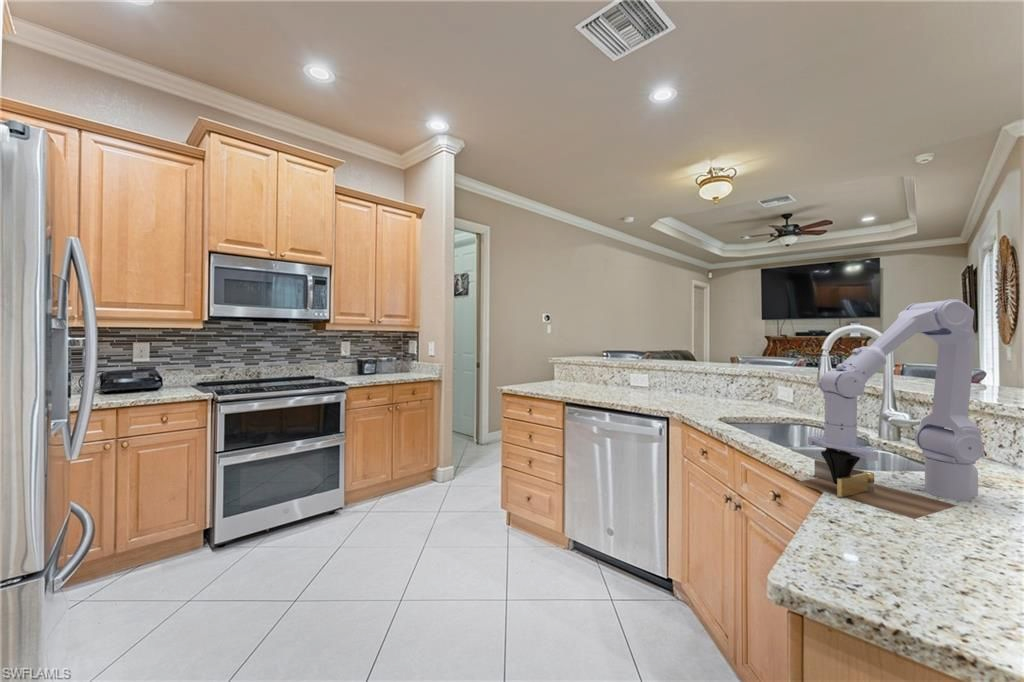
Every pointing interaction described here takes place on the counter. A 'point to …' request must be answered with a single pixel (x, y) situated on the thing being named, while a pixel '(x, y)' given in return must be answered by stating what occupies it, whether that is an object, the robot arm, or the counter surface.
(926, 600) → the counter surface
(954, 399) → the robot arm
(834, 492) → the hinge base
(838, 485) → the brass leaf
